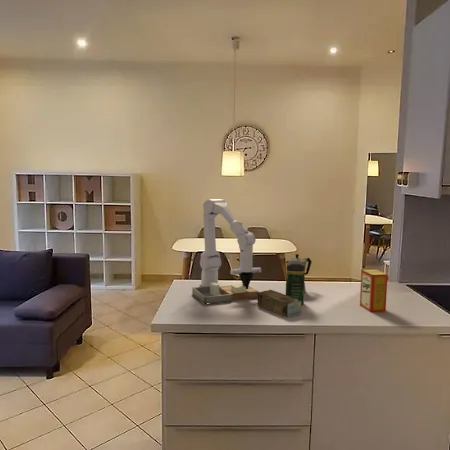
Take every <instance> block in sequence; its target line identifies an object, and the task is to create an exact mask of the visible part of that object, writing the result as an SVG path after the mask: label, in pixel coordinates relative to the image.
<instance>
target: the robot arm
mask: <svg viewBox="0 0 450 450" xmlns="http://www.w3.org/2000/svg"><path fill="white" fill-rule="evenodd" d="M202 207H203V214H202V215H203V220H202V221H203V234H204V235H203V238H204V251H202V253H201V254H200V260H199V265H200V268H201V270H202V271H201V276H200V278H201V279H200V281H201V282H200V284H199V287H206V286H210V283H214V282H215V283H217V284H219V269H220V267H221V265H222V259H221V253H220V252H219V251H218V250H217V243H216V224H215V223H216V222H215V220H216V219H215V218H216V217H217V216H218V215H221V216H222V218H223V219H224V220H226V222H227V223H228V224H229V225H230V226H229V229H230V231H232V233H233V234H234V235H235V237H236V239H237V244H238V249H239V267H238V268H233V269H230V275H232V276H234V275H239V277H240V280H241V283H242V284H243V285H244V286H245V287H246V289H248V286H250V283H251V280H252V279H253V277H254V274H255V273H262V267H253V258H254V257H253V255H254V254H253V253H254V251H253V249H254V248H253V247H254V245H255V243H256V241H257V240H256V235H255V234H254V232H252V231H249V230H248V229H247V228H246V227H245V226H244V223H243V221H241V220H237V219H236V218H235V216H234V214H233V213H232V212H231V210H230V209H229V204H228V203H227V202H226V200H225V199H224V198H216V199H215V198H211V199H210V198H209V199H208V198H207V199H206V200H205V201H204V202H203V204H202ZM219 287H220V285H219Z"/></svg>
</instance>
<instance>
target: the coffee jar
mask: <svg viewBox="0 0 450 450" xmlns="http://www.w3.org/2000/svg"><path fill="white" fill-rule="evenodd" d="M285 264H286V266H285V267H286V269H285V271H286V274H285V275H286V276H285V295H287V296H290V297H293V298H295V299H298V300H301V306H302V305H304V302H305V301H304V299H305V296H304V295H305V292H304V282H305V277H306V275H305V273H306V268H305V265H304V264H303V263H302V262H300V261H292V260H291V261H290V262H288V263H285Z"/></svg>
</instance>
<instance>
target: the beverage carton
mask: <svg viewBox="0 0 450 450" xmlns="http://www.w3.org/2000/svg"><path fill="white" fill-rule="evenodd" d="M257 306H258V307H261V308H263V309H266V310H269V311H271V312H272V313H276V314H278V315H281V316H283V317H286V318H291V317H294V316H299V315H302V305H301V300H298V299H295V298H293V297H290V296H287V295H286V293H282V292H279V291H276V290H274V289H268V290H263V291H259V292H258V298H257Z"/></svg>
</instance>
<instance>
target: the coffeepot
mask: <svg viewBox="0 0 450 450" xmlns="http://www.w3.org/2000/svg"><path fill="white" fill-rule="evenodd" d="M291 260H292V261H300V262H302V263H303V264H304V265H305V276H306V275H308V274H309V272H310V269H311V266H312V260H311V259H310V257H304V258H300V257H299V254H298V253H296V254H295V257H292V258H288V259H287V260H285V264H287V263H288V262H290V261H291ZM306 266H307V267H306ZM305 292H306V283H305V281H304V293H305Z"/></svg>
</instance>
